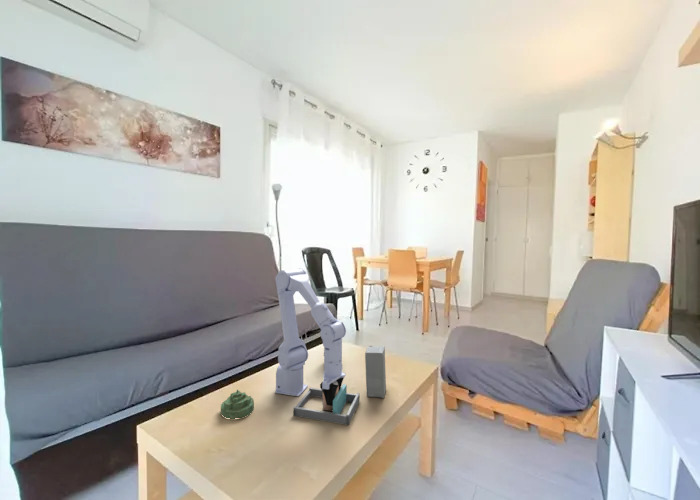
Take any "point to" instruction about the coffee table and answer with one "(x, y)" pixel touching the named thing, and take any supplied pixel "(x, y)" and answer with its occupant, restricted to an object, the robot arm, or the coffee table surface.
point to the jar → (325, 406)
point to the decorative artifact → (237, 405)
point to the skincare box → (375, 371)
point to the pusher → (340, 399)
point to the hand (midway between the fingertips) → (332, 400)
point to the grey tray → (322, 414)
